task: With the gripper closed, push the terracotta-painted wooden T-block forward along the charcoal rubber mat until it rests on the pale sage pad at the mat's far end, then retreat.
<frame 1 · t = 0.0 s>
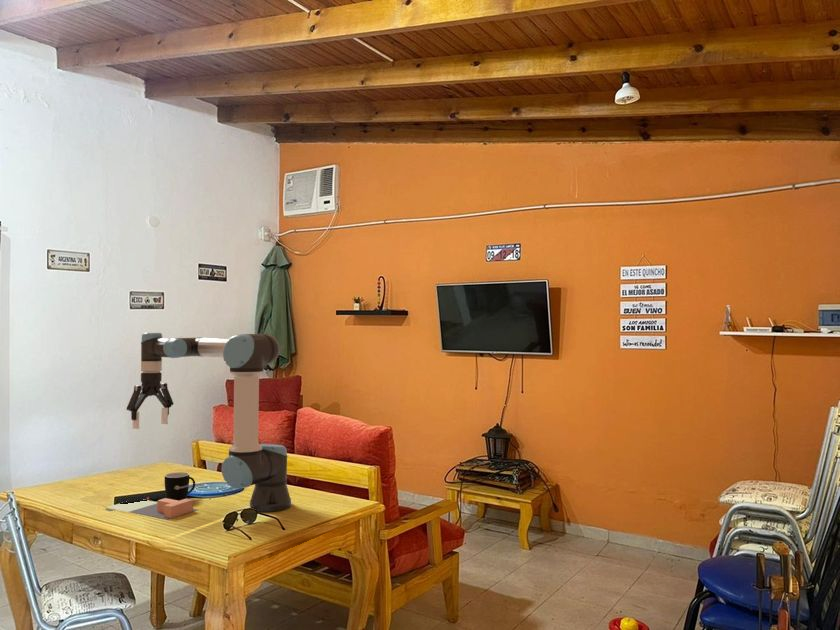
hand: (150, 426, 252), 28 cm above the table, fingers open, 13 cm apart
mat: (151, 510, 235), on the table
mug: (180, 500, 249), on the table
t block: (171, 512, 230), point 1 cm above the table, touching mat
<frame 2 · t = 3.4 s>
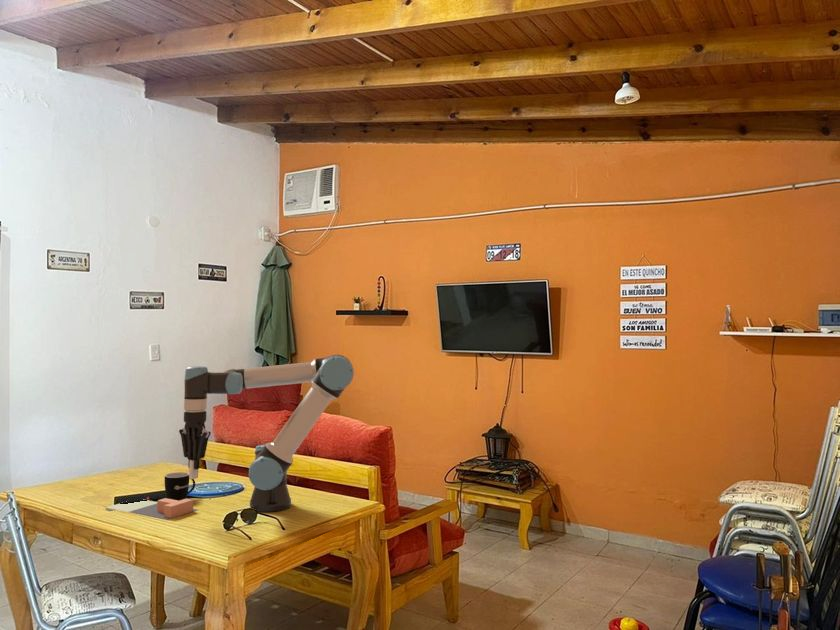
hand: (193, 478, 225), 14 cm above the table, fingers closed
nothing on the table moved.
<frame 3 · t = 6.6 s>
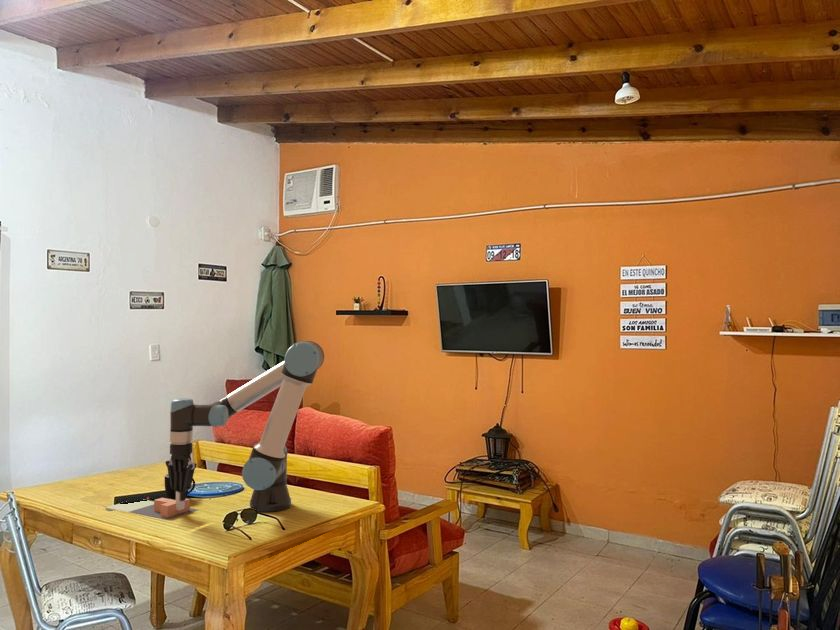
hand: (180, 509, 228), 3 cm above the table, fingers closed
t block: (168, 511, 231), point 1 cm above the table, touching gripper, mat
everything else where it was.
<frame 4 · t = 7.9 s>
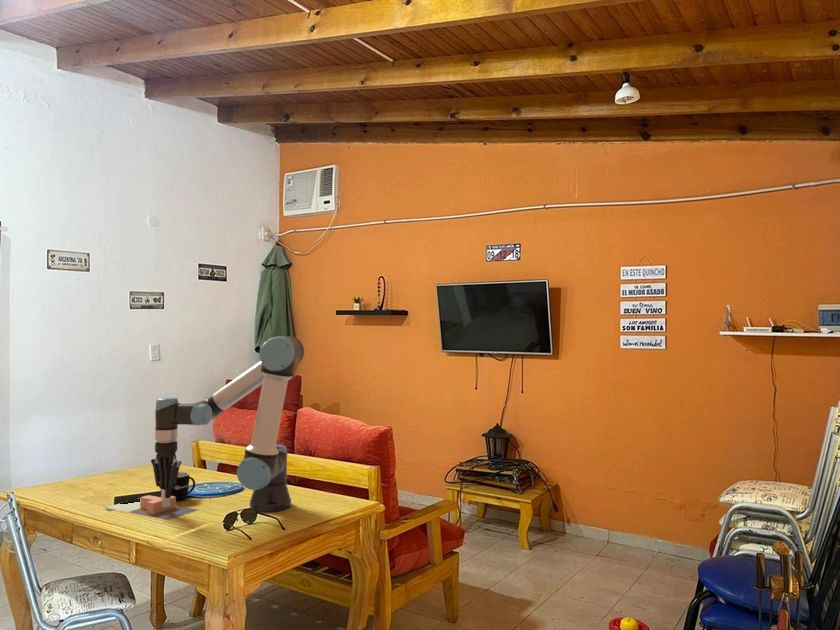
hand: (165, 506, 231), 2 cm above the table, fingers closed
t block: (154, 509, 234), point 1 cm above the table, touching gripper
everything else where it was.
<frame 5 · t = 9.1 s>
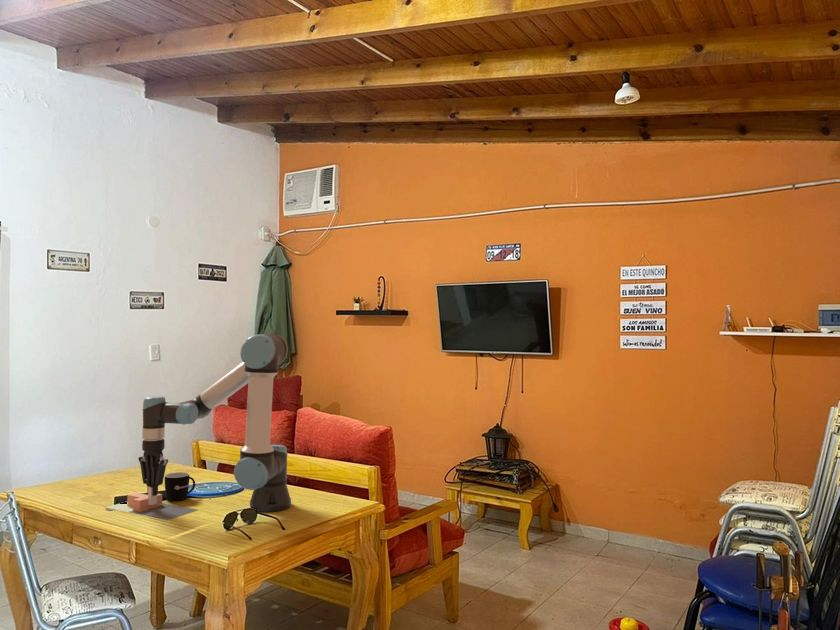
hand: (152, 504, 234), 3 cm above the table, fingers closed
t block: (141, 506, 237), point 1 cm above the table, touching gripper
everything else where it was.
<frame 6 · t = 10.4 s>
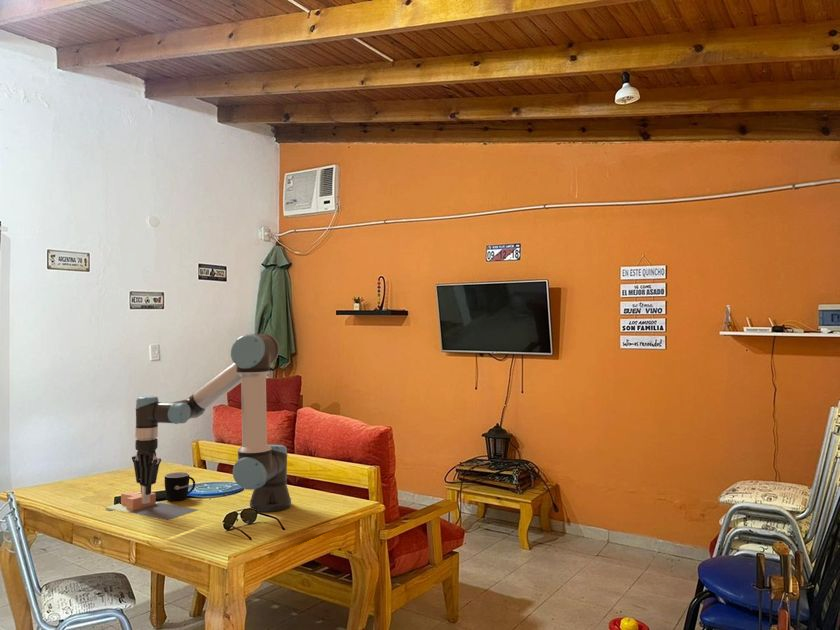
hand: (145, 503, 236), 2 cm above the table, fingers closed
t block: (134, 505, 239), point 1 cm above the table, touching mat
everything else where it was.
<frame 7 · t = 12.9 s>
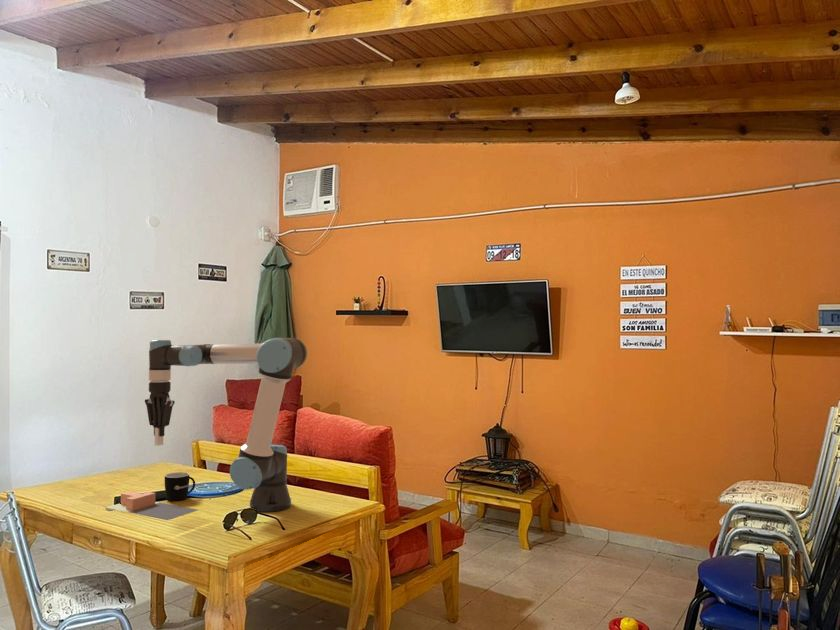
hand: (159, 444, 239), 23 cm above the table, fingers closed
nothing on the table moved.
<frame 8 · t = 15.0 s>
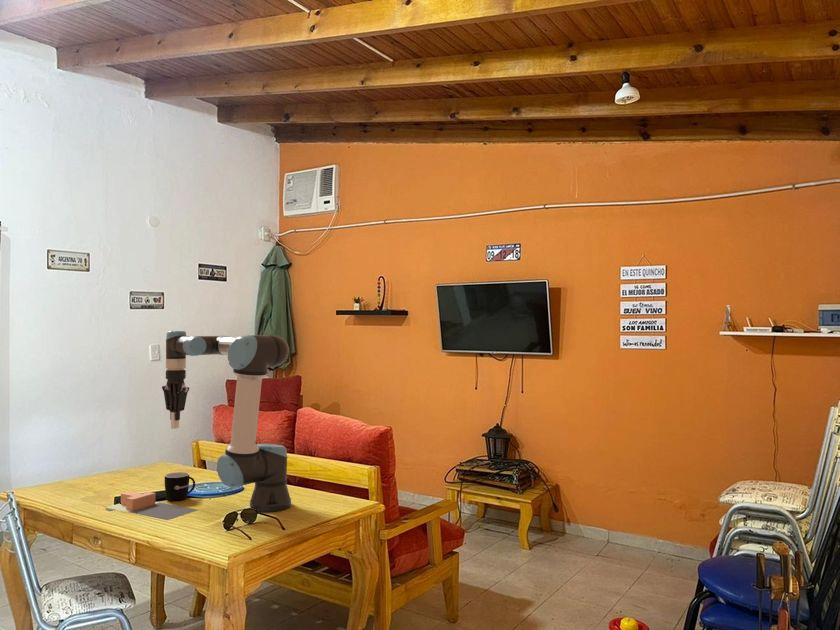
hand: (174, 428, 258), 26 cm above the table, fingers closed
nothing on the table moved.
at the end: t block inside the target area (1.2 cm from its centre), point 0.8 cm above the table; mug moved 0.2 cm from its start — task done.
